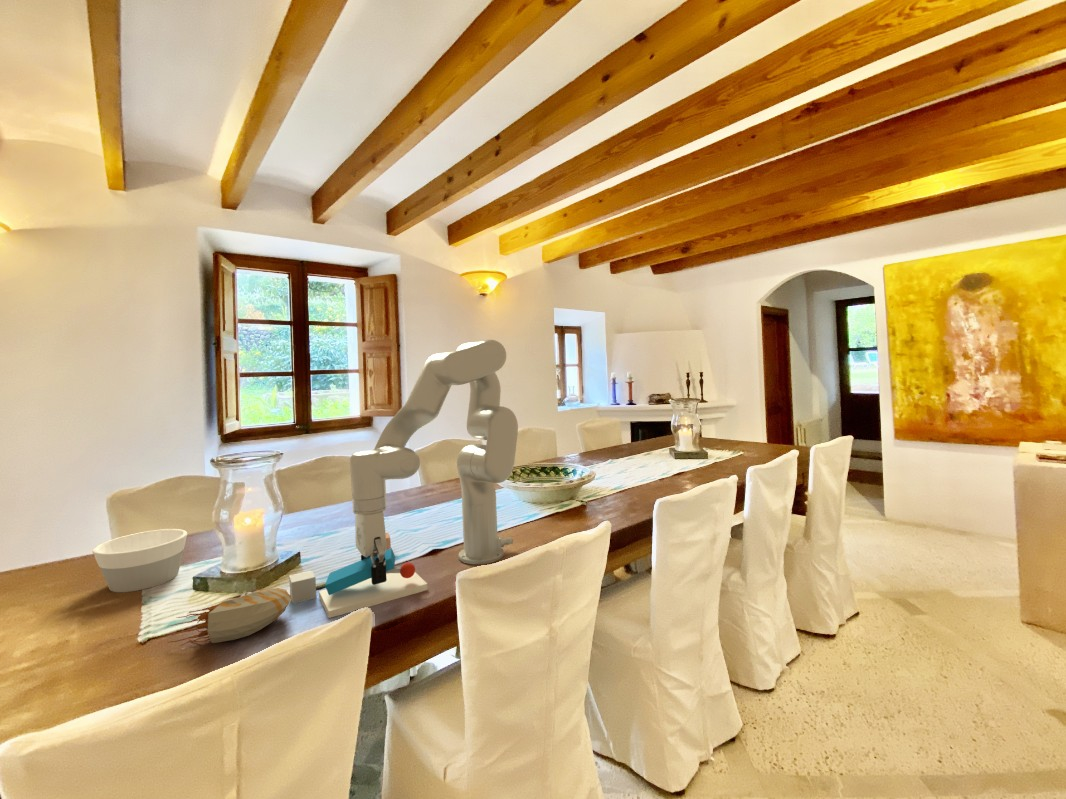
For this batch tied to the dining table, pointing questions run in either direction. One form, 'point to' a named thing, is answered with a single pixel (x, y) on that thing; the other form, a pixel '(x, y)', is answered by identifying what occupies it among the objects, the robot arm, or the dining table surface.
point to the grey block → (302, 586)
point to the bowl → (141, 559)
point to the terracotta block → (387, 542)
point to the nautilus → (239, 615)
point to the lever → (364, 572)
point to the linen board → (370, 593)
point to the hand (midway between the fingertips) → (373, 576)
